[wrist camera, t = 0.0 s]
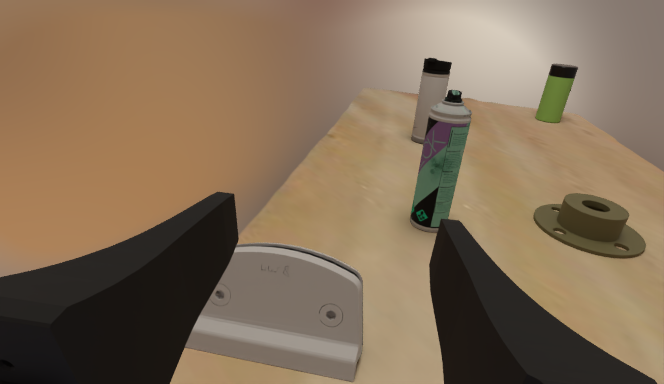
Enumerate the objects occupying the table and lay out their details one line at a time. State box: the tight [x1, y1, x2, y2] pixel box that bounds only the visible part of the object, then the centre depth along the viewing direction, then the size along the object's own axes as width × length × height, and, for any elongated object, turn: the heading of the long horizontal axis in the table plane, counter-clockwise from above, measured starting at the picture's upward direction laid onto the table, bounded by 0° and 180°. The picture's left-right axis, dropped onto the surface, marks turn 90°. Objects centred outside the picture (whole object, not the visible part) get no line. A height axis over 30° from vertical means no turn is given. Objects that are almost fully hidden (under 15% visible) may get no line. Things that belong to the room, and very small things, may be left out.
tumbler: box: [535, 64, 578, 123], centre depth 120 cm, size 8×8×17 cm
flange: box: [534, 193, 646, 258], centre depth 58 cm, size 5×15×15 cm
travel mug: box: [412, 58, 452, 144], centre depth 90 cm, size 6×7×20 cm
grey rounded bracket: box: [185, 243, 363, 382], centre depth 35 cm, size 17×5×10 cm, turn 80°
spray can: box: [410, 90, 472, 232], centre depth 53 cm, size 6×6×20 cm
